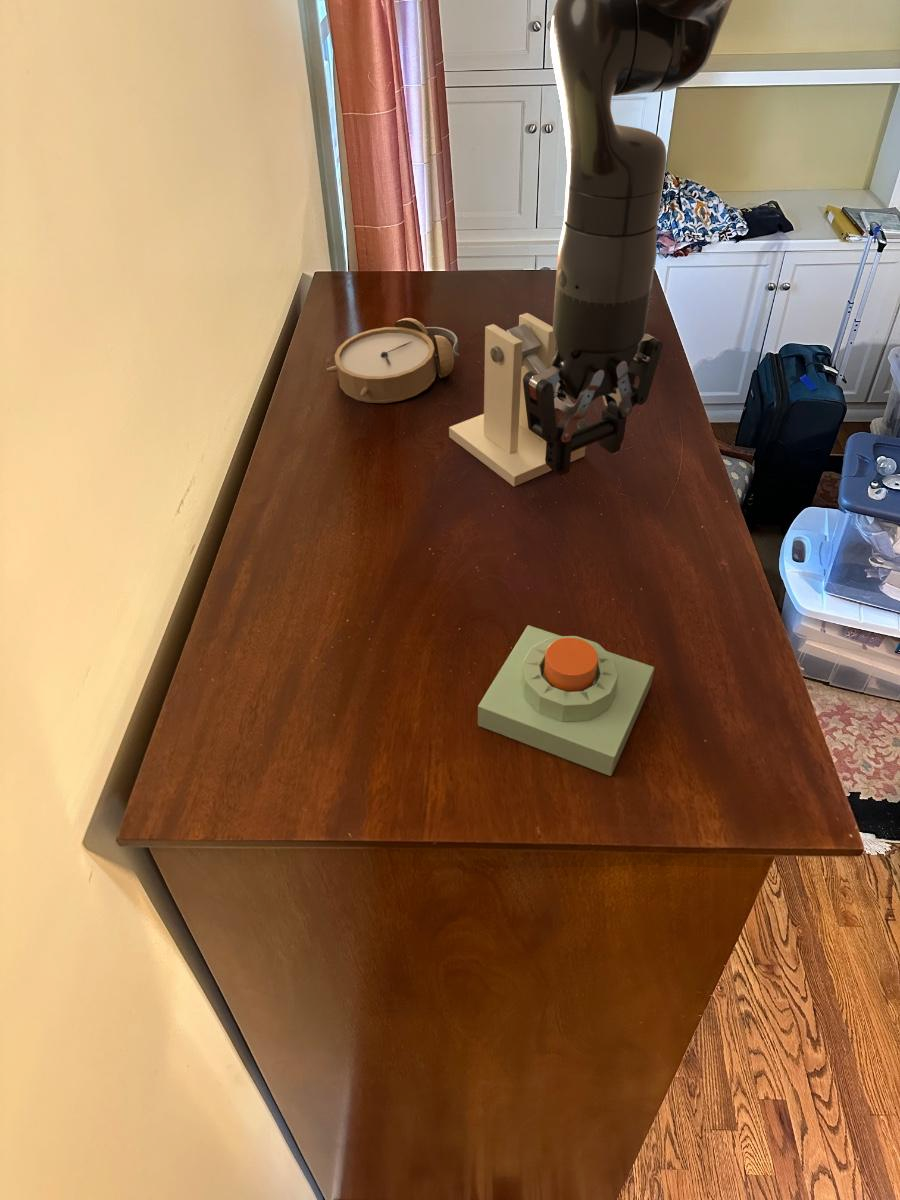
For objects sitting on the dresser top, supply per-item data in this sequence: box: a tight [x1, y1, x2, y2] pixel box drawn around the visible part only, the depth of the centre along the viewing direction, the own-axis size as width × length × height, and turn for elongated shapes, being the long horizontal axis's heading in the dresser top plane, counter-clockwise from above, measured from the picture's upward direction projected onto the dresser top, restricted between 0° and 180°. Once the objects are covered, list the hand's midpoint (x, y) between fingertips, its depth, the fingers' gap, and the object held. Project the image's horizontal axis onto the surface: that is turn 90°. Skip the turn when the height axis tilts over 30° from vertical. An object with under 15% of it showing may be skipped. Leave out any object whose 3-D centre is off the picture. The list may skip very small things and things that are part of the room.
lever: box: [505, 324, 615, 452], centre depth 79 cm, size 13×6×2 cm, turn 35°
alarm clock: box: [326, 317, 460, 404], centre depth 98 cm, size 11×5×15 cm
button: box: [544, 638, 598, 692], centre depth 60 cm, size 4×4×2 cm
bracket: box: [448, 312, 587, 487], centre depth 84 cm, size 11×9×13 cm
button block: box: [477, 624, 655, 777], centre depth 61 cm, size 10×9×4 cm
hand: (584, 458), depth 79 cm, fingers closed on lever, 5 cm apart
